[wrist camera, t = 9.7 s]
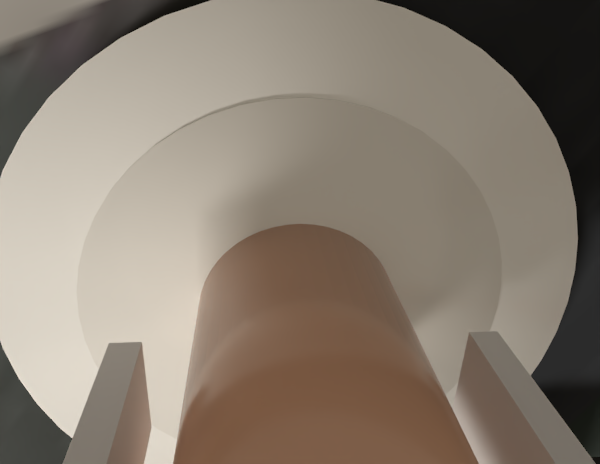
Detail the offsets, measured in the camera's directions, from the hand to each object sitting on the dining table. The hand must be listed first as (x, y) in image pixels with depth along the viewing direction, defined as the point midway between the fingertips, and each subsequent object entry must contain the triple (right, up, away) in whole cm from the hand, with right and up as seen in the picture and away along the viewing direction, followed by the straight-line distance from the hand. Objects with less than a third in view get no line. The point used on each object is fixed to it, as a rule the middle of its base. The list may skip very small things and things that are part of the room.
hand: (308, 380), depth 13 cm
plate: (0, +2, +4) cm, 4 cm away
